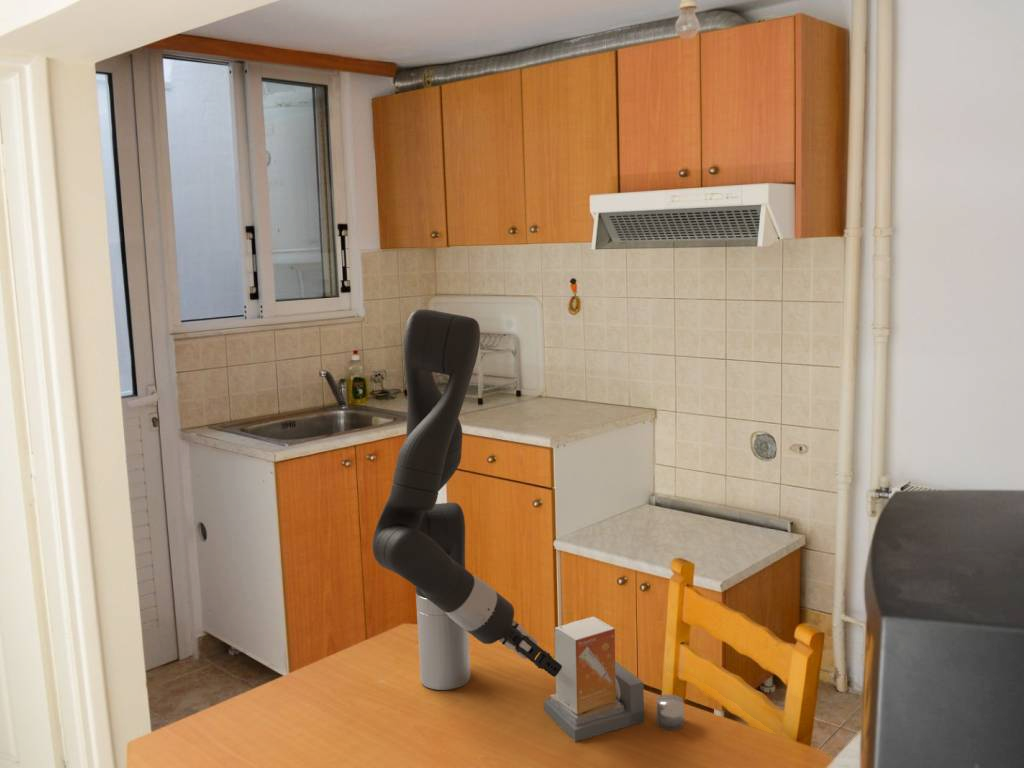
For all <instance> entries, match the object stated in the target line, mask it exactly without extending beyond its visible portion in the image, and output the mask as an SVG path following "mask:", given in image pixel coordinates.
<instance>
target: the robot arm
mask: <svg viewBox="0 0 1024 768" xmlns="http://www.w3.org/2000/svg"><path fill="white" fill-rule="evenodd" d="M480 341H481V328H480V324H479V321H478V320H476V319H475V318H473V317H469V316H465V315H461V314H453V313H449V312H443V311H437V310H433V309H425V308H423V309H422V308H421V309H416V310H414V311H413V312H412V313H411V314H410V316H409V317H408V319H407V321H406V325H405V328H404V338H403V358H404V360H403V361H404V369H405V370H404V371H405V382H406V396H407V414H406V416H407V417H406V434H405V436H406V437H405V438H406V439H405V441H404V442H403V443H402V445H401V448H400V450H399V453H398V456H397V459H396V465H395V469H394V473H393V478H392V484H391V489H390V495H389V497H388V498H387V501H386V502H385V505H384V508H383V509H382V512H381V514H380V517H379V519H378V521H377V525H376V527H375V530H374V533H373V538H372V552H373V553H372V554H373V556H374V559H375V561H376V562H377V564H379V565H380V566H381V567H382V568H384V569H387V570H388V571H391V572H393V573H394V574H397V575H398V576H400V577H401V578H403V579H405V580H406V581H407V582H410V583H411V584H412V585H414V587H415V600H416V602H415V603H416V604H415V605H416V616H417V617H416V618H417V620H416V621H417V634H418V639H417V640H418V656H419V673H420V674H419V675H420V683H421V684H422V686H424V687H426V688H428V689H432V690H437V691H448V690H453V689H457V688H460V687H463V686H465V685H466V684H468V682H470V680H471V661H470V659H471V658H470V657H471V656H470V638H469V636H470V635H472V636H473V637H474V638H475V639H477V640H478V641H479V642H481V643H482V644H484V645H491V644H494V643H496V642H500V643H501V644H502V645H503V646H504V647H506V648H507V649H509V650H512V651H513V652H514V653H516V654H517V655H518V656H520V657H521V658H522V659H524V660H529V661H530V662H531V663H533V664H534V666H536V668H538V669H541V670H544V671H545V672H546V673H548V674H549V675H550V676H552V677H554V678H556V676H557V674H558V673H559V671H560V670H561V669H562V665H561V664H559V663H558V662H557V661H556V660H555V658H554V657H552V656H551V654H550V653H549V652H548V651H547V650H544V649H543V648H542V647H541V646H539V643H538V642H539V641H538V640H536V639H535V638H534V637H533V636H531V635H530V634H529V633H528V632H526V631H525V628H524V627H523V626H522V625H520V624H519V623H518V622H517V621H515V620H514V618H515V608H514V606H513V604H512V603H511V602H510V601H509V600H508V599H507V598H505V597H504V596H503V595H501V594H500V593H499V592H498V591H496V590H495V589H494V588H492V587H491V586H490V585H489V584H487V583H486V582H485V581H483V580H482V579H480V578H479V577H476V576H475V575H473V574H472V573H471V572H470V571H468V570H467V569H466V521H465V515H464V511H463V509H462V506H461V505H460V504H459V503H457V502H444V503H443V502H442V503H437V500H438V498H439V497H438V496H439V492H440V490H442V489H443V487H444V486H445V485H446V484H447V483H448V482H449V481H450V480H451V478H452V476H454V474H455V473H456V471H457V469H458V468H459V466H460V464H461V459H462V451H463V449H462V448H463V446H462V445H463V427H462V424H461V422H460V419H459V416H460V414H461V411H462V409H463V408H462V407H463V405H464V401H465V398H466V394H467V391H468V389H469V386H470V383H471V380H472V379H471V378H472V376H473V372H474V371H475V370H474V369H475V365H476V363H477V358H478V354H479V349H480V344H481V343H480ZM434 373H436V374H442V375H447V376H448V377H449V378H448V380H447V383H446V386H445V389H444V391H443V393H442V392H441V390H440V389H439V387H438V385H437V382H436V381H435V378H434ZM469 634H470V635H469Z"/></svg>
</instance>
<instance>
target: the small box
mask: <svg viewBox="0 0 1024 768" xmlns="http://www.w3.org/2000/svg"><path fill="white" fill-rule="evenodd" d="M554 652H555V655H554V656H555V658H554V660H556V661H557V662H558V663H559V664H561V665H562V669H561V670H560V671H559V673H558V674H557V676H555V691H556V693H555V694H556V699H557V700H558V701H559V702H560V703H562V704H563V705H564V706H566V707H567V708H569V709H570V710H571V711H573V712H574V713H576V714H580V713H583V712H585V711H588V710H591V709H594V708H597V707H599V706H602V705H605V704H608V703H612V702H615V701H616V685H615V661H616V629H615V627H613V626H612V625H609V624H608V623H606V622H604V621H602V620H601V619H599V618H597V617H595V616H590V617H587V618H583V619H580V620H579V619H578V620H575V621H571V622H568V623H566V624H563V625H558V626H556V627H554Z"/></svg>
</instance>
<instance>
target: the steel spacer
mask: <svg viewBox="0 0 1024 768" xmlns="http://www.w3.org/2000/svg"><path fill="white" fill-rule="evenodd" d="M684 708H685V705H684V699H683V698H682V697H680V696H678V695H675V694H661V695H659V696H658V697H657V698H656V725H657V726H658V728H660V729H661V730H665V731H678V730H680V729H682V728H683V727H684V726H685V723H684V722H685V719H684V717H685V716H684V715H685V712H684V711H685V709H684Z"/></svg>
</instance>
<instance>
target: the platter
mask: <svg viewBox="0 0 1024 768" xmlns="http://www.w3.org/2000/svg"><path fill="white" fill-rule="evenodd" d="M549 699H550V702H551V703H552V704H553V705H554V706H555V707H557V708H558V709H559V710H560V711H561V712H562V713H563V714H564V715H565V716H566V717H567V718H568V719H569V720H570V721H571V722H572V723H574V724H575V725H576V726H577V725H580V724H584V723H587V722H591V721H594V720H598V719H601V718H605V717H608V716H612V715H615V714H619V713H622V712H624V705H623V704H621V703H620V702H619V701H618V700H617V699H616V701H615V702H612V703H608V704H605V705H602V706H599V707H597V708H594V709H591V710H588V711H585V712H583V713H580V714H576V713H574V712H573V711H571V710H570V709H569V708H567V707H566V706H564V705H563V704H562V703H560V702H559V701H558V700H557V699H556V693H553V694H549Z"/></svg>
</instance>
